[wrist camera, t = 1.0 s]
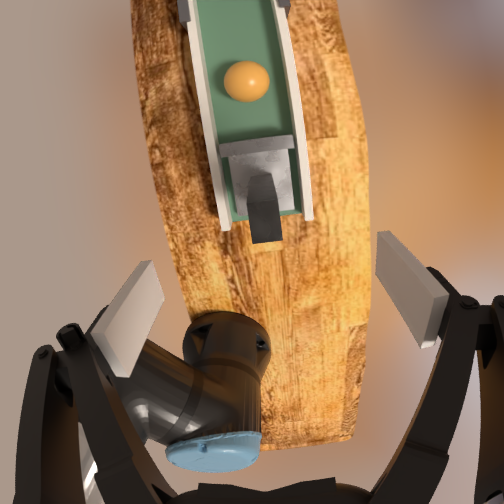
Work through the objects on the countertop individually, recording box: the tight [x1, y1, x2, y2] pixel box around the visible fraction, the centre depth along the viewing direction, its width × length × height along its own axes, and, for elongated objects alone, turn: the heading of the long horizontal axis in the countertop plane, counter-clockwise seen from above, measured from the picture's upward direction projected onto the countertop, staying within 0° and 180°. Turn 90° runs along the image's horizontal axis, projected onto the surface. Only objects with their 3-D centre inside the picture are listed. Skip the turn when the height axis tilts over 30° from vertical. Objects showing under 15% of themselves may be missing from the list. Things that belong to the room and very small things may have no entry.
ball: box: [224, 61, 270, 102], centre depth 27 cm, size 5×5×5 cm
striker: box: [219, 134, 294, 244], centre depth 28 cm, size 9×8×13 cm
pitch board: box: [187, 0, 314, 231], centre depth 28 cm, size 36×11×4 cm, turn 8°
